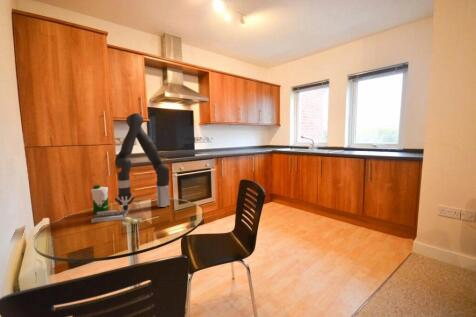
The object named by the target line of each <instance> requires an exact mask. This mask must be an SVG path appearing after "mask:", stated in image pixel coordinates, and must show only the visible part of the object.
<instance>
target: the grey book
mask: <svg viewBox="0 0 476 317" xmlns="http://www.w3.org/2000/svg"><path fill="white" fill-rule="evenodd" d="M126 211H127V210H126ZM126 211H124V210H123V209H121V212H126ZM116 212H117V209H116V210H115V209H114V210H109V211H102V212H97V214H105V213H116ZM123 216H124V214H117V215H107V216H97V217H95V216H93V217H92V218H91V220H92V219H93V220H98V219H108V218H118V217H123Z"/></svg>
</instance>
